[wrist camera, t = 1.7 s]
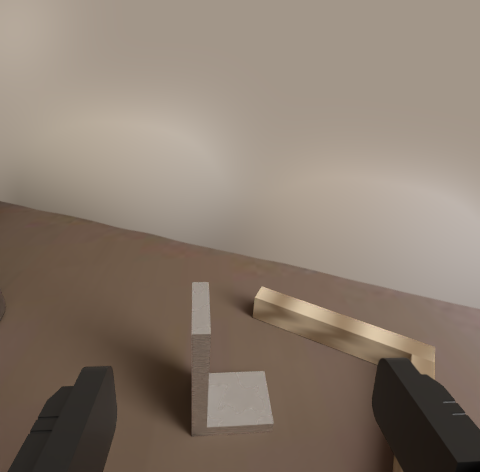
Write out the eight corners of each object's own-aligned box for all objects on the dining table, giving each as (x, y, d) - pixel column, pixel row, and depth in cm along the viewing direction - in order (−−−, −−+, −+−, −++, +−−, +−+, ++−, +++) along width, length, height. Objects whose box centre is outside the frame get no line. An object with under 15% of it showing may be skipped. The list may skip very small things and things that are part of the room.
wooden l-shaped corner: (186, 427, 31) (186, 405, 29) (259, 306, 43) (261, 286, 41) (417, 544, 25) (433, 526, 23) (424, 366, 38) (434, 347, 36)
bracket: (191, 436, 30) (191, 334, 24) (192, 382, 34) (192, 282, 28) (271, 431, 31) (293, 331, 24) (262, 379, 35) (279, 281, 28)
